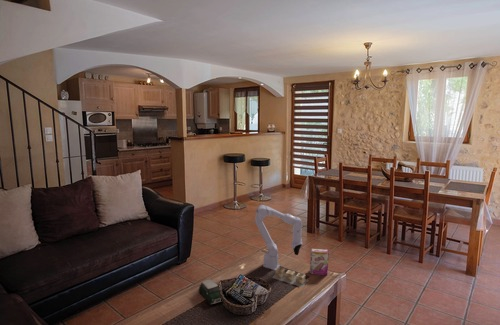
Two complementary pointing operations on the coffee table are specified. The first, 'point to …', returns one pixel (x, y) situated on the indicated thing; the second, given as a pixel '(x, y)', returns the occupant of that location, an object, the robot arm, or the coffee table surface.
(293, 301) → the coffee table surface
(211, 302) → the miniature car
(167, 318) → the coffee table surface
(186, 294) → the coffee table surface
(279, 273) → the block one
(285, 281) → the mat
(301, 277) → the block two
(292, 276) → the plain block
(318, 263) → the candy bar box
